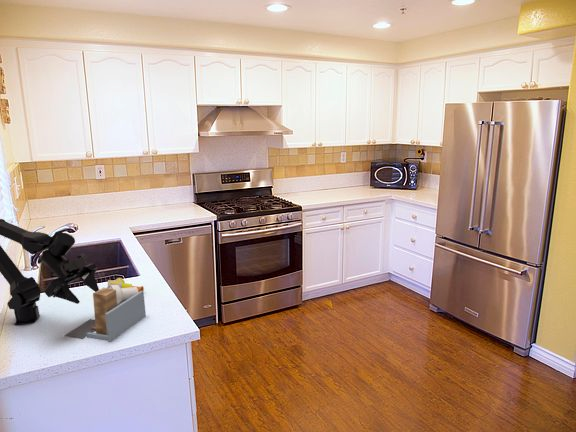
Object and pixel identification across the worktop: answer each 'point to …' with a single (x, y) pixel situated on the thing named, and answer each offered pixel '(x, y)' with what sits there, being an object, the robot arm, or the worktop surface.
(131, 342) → the worktop surface
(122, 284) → the toy
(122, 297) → the spotlight
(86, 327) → the mat
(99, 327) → the oak block
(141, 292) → the lane rack
